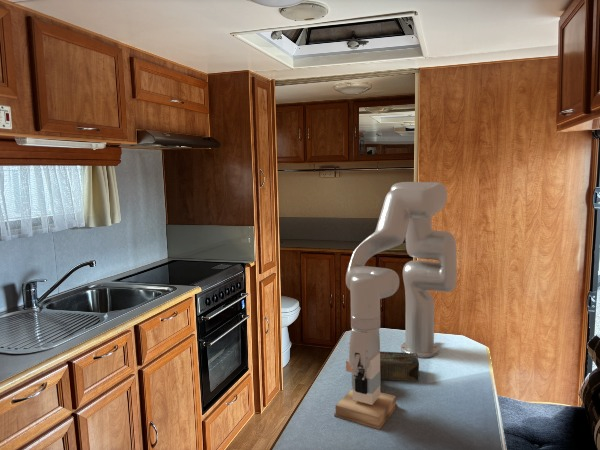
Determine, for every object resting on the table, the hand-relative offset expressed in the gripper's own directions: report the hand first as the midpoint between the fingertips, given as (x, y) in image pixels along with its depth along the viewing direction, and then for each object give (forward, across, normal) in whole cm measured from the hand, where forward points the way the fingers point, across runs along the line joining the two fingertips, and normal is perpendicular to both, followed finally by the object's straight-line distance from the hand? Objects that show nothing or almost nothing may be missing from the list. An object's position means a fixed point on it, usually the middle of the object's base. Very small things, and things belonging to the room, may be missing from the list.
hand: (366, 386), depth 125 cm
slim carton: (+3, 0, 0) cm, 3 cm away
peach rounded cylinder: (+7, -13, -7) cm, 16 cm away
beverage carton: (+8, -23, -3) cm, 24 cm away
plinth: (+7, 0, 0) cm, 7 cm away
